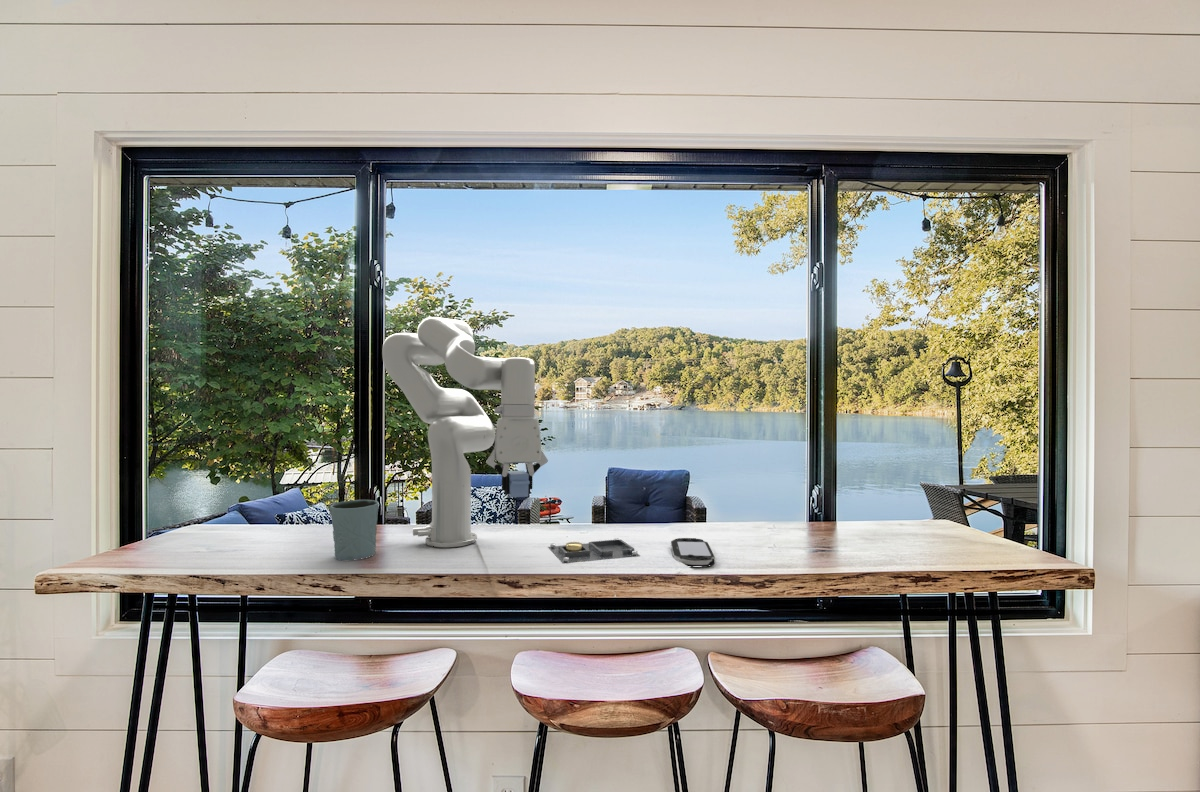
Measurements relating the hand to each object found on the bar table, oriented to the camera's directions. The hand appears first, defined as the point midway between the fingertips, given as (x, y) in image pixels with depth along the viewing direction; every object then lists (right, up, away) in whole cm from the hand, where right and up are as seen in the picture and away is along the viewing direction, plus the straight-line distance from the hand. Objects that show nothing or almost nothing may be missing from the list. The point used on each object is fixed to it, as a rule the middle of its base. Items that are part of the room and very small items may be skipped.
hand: (517, 492), depth 128 cm
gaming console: (+40, -16, +3) cm, 43 cm away
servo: (0, 0, 0) cm, 0 cm away
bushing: (+13, -14, +1) cm, 19 cm away
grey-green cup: (-38, -15, +2) cm, 41 cm away
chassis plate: (+17, -15, +2) cm, 23 cm away
